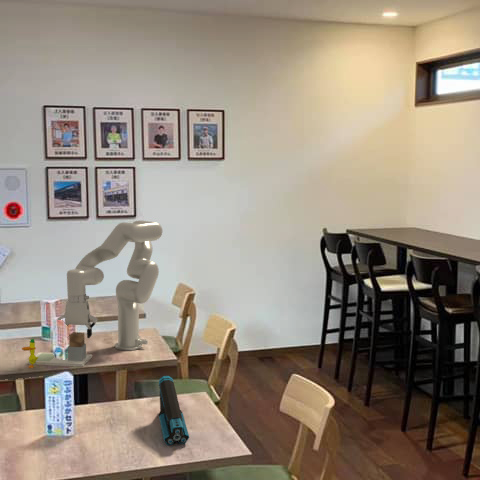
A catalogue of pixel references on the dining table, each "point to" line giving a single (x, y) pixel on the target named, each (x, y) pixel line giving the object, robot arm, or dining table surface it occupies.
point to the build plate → (51, 360)
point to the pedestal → (77, 353)
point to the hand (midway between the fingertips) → (78, 337)
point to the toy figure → (32, 350)
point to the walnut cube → (76, 339)
